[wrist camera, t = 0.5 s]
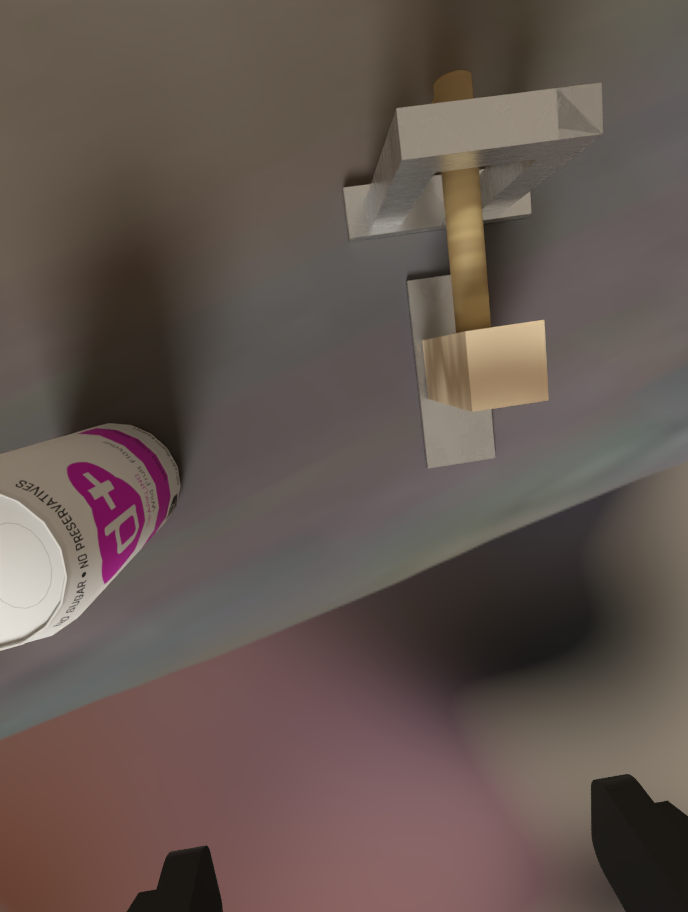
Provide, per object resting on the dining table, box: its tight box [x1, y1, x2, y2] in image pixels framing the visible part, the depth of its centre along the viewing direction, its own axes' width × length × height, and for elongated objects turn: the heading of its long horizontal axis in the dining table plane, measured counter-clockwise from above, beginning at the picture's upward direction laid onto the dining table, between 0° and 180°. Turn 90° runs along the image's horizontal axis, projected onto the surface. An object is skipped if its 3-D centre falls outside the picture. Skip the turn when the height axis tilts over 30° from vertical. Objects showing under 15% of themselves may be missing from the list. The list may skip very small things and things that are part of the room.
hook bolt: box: [422, 70, 549, 412], centre depth 27 cm, size 17×4×9 cm, turn 8°
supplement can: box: [0, 423, 181, 651], centre depth 26 cm, size 8×8×15 cm
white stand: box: [342, 83, 603, 468], centre depth 27 cm, size 19×12×11 cm, turn 8°
